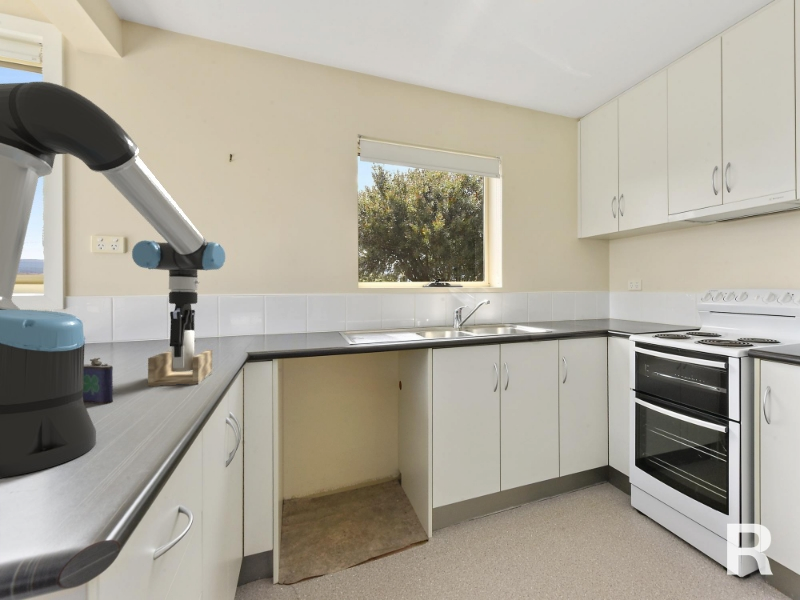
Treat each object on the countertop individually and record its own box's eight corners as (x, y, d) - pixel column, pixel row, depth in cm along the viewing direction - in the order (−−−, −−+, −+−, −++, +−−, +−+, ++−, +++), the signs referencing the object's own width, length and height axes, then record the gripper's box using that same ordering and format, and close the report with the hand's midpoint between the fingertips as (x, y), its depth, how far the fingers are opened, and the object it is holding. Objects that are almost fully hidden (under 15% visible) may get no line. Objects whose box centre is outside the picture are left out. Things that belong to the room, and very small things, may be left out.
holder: (198, 384, 102) (198, 357, 102) (147, 386, 99) (148, 358, 99) (212, 373, 116) (212, 349, 116) (168, 375, 113) (168, 350, 112)
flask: (72, 402, 83) (72, 358, 83) (84, 399, 86) (85, 356, 86) (106, 404, 82) (106, 359, 82) (117, 401, 85) (118, 357, 85)
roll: (190, 371, 105) (190, 331, 105) (168, 372, 104) (168, 331, 104) (196, 367, 111) (197, 329, 111) (175, 367, 110) (176, 329, 109)
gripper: (185, 291, 99) (185, 371, 99) (206, 291, 117) (205, 359, 117) (155, 290, 97) (155, 372, 97) (181, 291, 115) (180, 360, 116)
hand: (182, 365), depth 107 cm, fingers closed on roll, 6 cm apart
